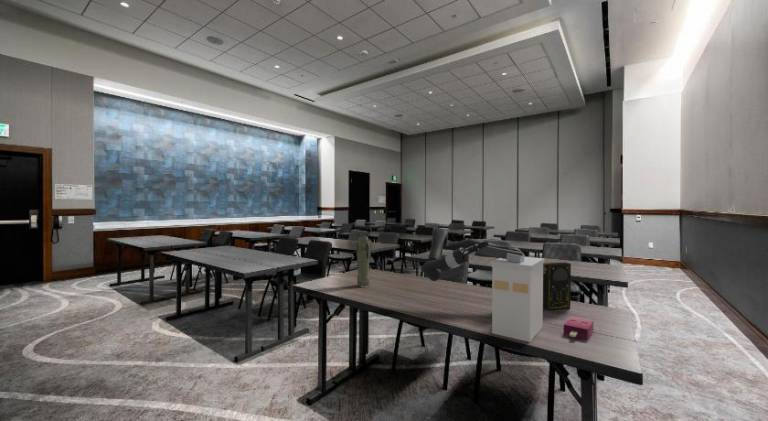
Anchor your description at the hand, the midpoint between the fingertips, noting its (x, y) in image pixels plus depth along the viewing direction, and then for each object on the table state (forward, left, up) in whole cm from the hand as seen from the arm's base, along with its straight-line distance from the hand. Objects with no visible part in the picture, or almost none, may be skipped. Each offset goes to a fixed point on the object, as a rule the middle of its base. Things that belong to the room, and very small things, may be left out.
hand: (486, 243), depth 157 cm
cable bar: (-3, +4, -6) cm, 8 cm away
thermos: (+27, -97, -40) cm, 109 cm away
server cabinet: (-11, +9, -39) cm, 42 cm away
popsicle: (-32, +22, -40) cm, 56 cm away
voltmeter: (-55, -9, -40) cm, 68 cm away
